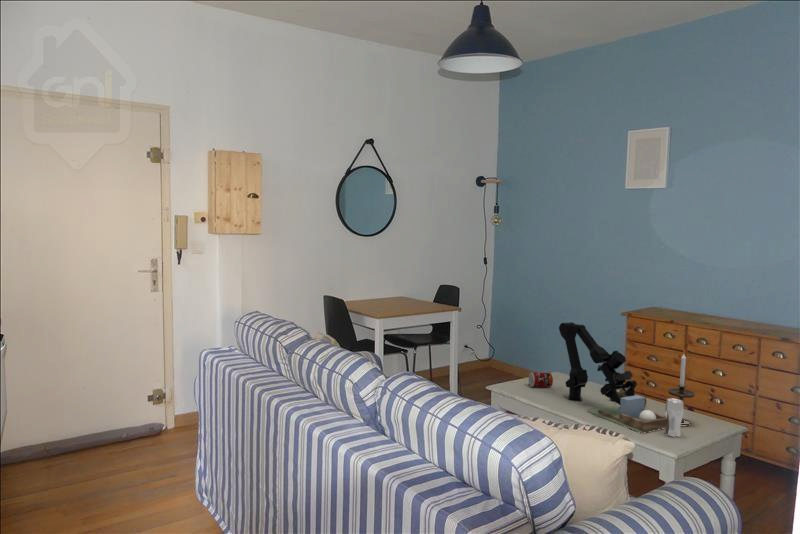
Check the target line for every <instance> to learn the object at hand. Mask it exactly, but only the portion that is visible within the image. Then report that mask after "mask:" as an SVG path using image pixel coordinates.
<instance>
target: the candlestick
mask: <svg viewBox="0 0 800 534" xmlns="http://www.w3.org/2000/svg"><path fill="white" fill-rule="evenodd" d="M681 350H682V352H683V353H682V356H681V361H680V373H679V374H680V375H679V376H680V377H679V384H677V385H676V386H677V387H678V388H674V387H673V388H669V389H668V391H667V393H668V394H669V395H671V396H673V397H678V398H679V400H682V401H683V402H684V400H683V399H684V398H685V399H686V398H687V399H690V398H695V396H696V393H695V392H694V391H691V390H688V389H686V388H687V386H686V385H685V380H686V378H685V377H686V365H687V364H686V363H687V356H686V355H685V353H686V350H685V348H684V347H682V349H681ZM684 420H685V421H689V422H690V423H689V424H691V421H690V420H688V419H685V418H682V421H681V423H684ZM689 424H681V425H689Z"/></svg>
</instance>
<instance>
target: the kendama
mask: <svg viewBox="0 0 800 534" xmlns="http://www.w3.org/2000/svg"><path fill="white" fill-rule="evenodd" d="M625 392H626V391H624V390H623V389H619V391H617V390H616V393H617V395H618V397H619V399H620V400H621V398H622V397H628V396H627V395H626V394H625ZM609 399H610V398H609ZM610 401H611V402H612V403H613V402H614V403H616V402H615V401H613V400H612V399H610ZM646 405H647V398H646V397H645V404H644V408H645V407H646Z"/></svg>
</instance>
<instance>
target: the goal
mask: <svg viewBox="0 0 800 534" xmlns="http://www.w3.org/2000/svg"><path fill="white" fill-rule="evenodd" d="M644 410H647V409H645V408H644ZM652 412H653V411H652ZM587 413H589V414H591V415H594V416H596V417H599V418H600V419H601V418H602V419H603V420H606V421H608V422H612V423H614V424H616V423H617V424H616V425H619V426H621V425H622V426H621V427H623V426H625V427H624V428H626V427H627V428H626V429H628V428H630V429H629V430H631V429H633V430H635V431H634V432H636V431H637V433H638V432H640V433H639V434H641V433H643V434H645V433H644V432H648V433H650V432H649V431H653V430H658V429H662V428H666V426H667V423H666V415H665V416H664V415H662V414H659V413H656V412H653V413H654V414H655V416H656V419H655V420H649V421H641V420H639V419H636V418H634V417H631V416H628V415H626V414H623V413H620V406H617V405H614V406H609V407H607V406H606V407H601V408H596V409H589V410H587ZM633 430H632V431H633ZM658 431H659V430H658ZM653 432H654V431H653Z"/></svg>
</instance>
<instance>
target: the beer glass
mask: <svg viewBox="0 0 800 534" xmlns="http://www.w3.org/2000/svg"><path fill="white" fill-rule="evenodd" d="M665 402H666V403H665V409H664V410H665V411H664V412H665V413H664V414H665V417H666V423H667V426H666V429H665V432H664V434H665V433H666V434H667V435H670V436H680V435H682V434H681V426H680V425H681V421H682V419H684V418H683V417H684V410H685V406H684V400H683V401H682V400H679V399H678V398H674V397H673V398H671V397H670V398H669V397H668V398H667V399H666V400H665ZM666 434H665V435H666ZM667 435H666V436H667ZM670 436H669V437H670ZM680 437H681V436H680Z"/></svg>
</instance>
